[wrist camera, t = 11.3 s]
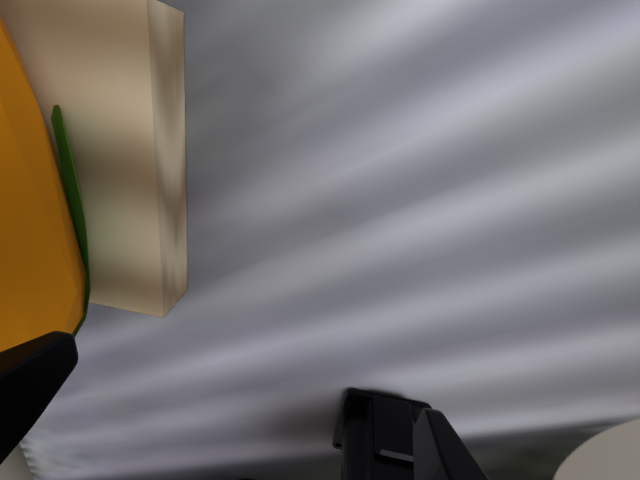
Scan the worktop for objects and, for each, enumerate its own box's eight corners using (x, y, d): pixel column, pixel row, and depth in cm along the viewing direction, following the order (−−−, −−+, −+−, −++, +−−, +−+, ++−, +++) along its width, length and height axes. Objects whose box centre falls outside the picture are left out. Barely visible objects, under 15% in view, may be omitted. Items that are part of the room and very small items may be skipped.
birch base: (187, 290, 22) (163, 317, 20) (20, 256, 23) (-26, 278, 20) (183, 12, 15) (146, -5, 13) (-56, -30, 16) (-142, -55, 13)
